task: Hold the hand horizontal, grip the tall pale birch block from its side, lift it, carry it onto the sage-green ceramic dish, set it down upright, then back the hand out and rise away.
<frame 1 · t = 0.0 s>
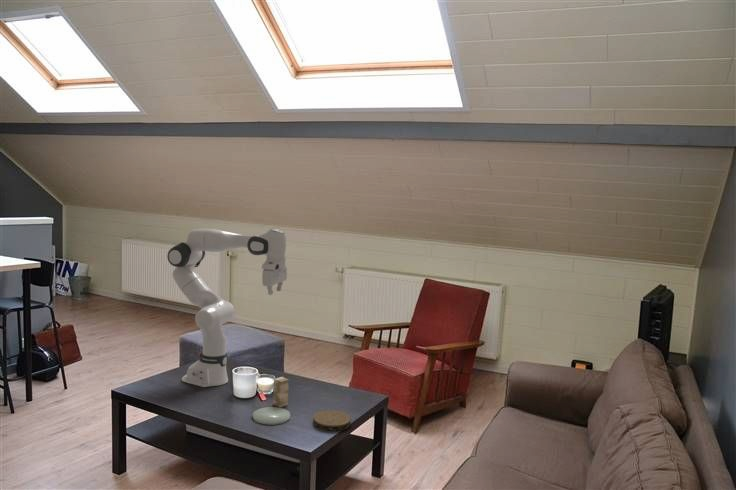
hand: (274, 292, 281), 48 cm above the table, tool pointing down, fingers open, 8 cm apart
birch block: (280, 404, 270), on the table
dish: (271, 417, 256), on the table
brown round disc: (331, 424, 253), on the table
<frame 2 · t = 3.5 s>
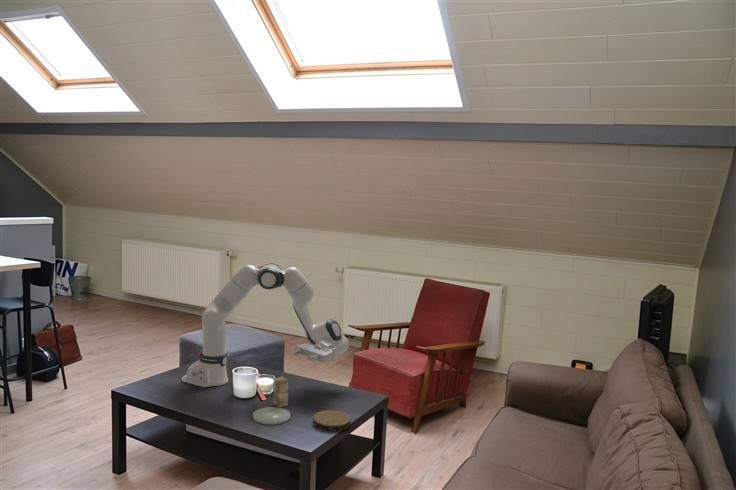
hand: (301, 356, 277), 20 cm above the table, tool horizontal, fingers open, 8 cm apart
nothing on the table moved.
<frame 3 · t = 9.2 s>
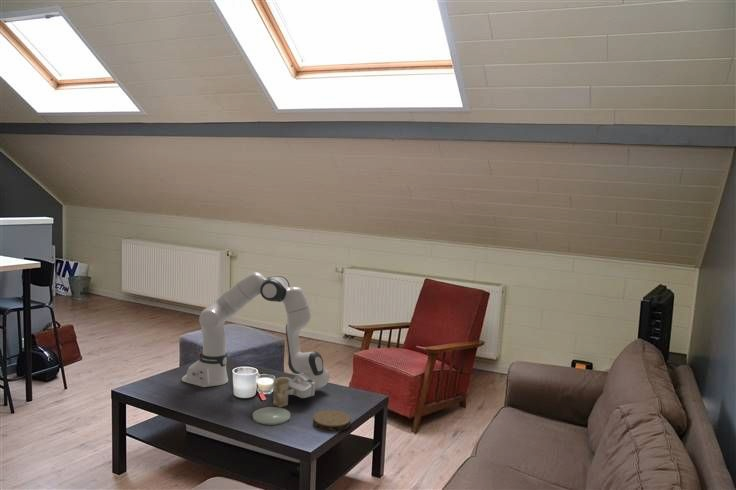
hand: (279, 391, 269), 7 cm above the table, tool horizontal, fingers closed on birch block, 5 cm apart
birch block: (280, 404, 270), on the table, touching gripper
everything else where it was.
when the fingers open (9 cm above the table, at t = 15.6 s): birch block drops 1 cm, resting on dish.
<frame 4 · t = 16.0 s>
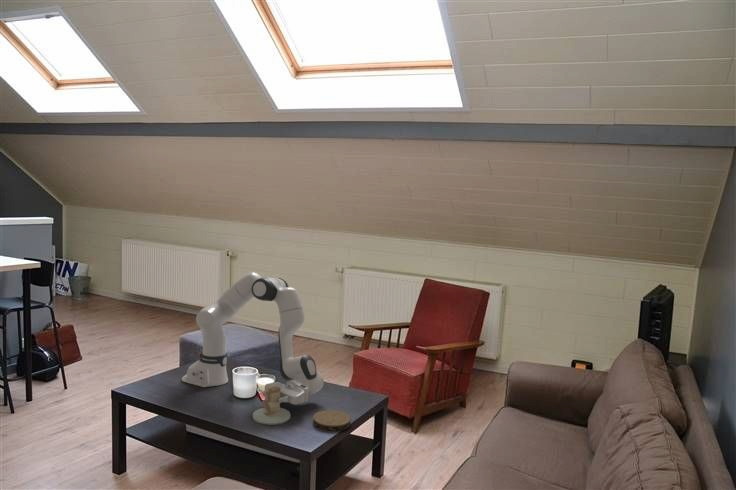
hand: (270, 397, 254), 9 cm above the table, tool horizontal, fingers open, 8 cm apart
birch block: (271, 414, 256), point 1 cm above the table, touching dish
everything else where it was.
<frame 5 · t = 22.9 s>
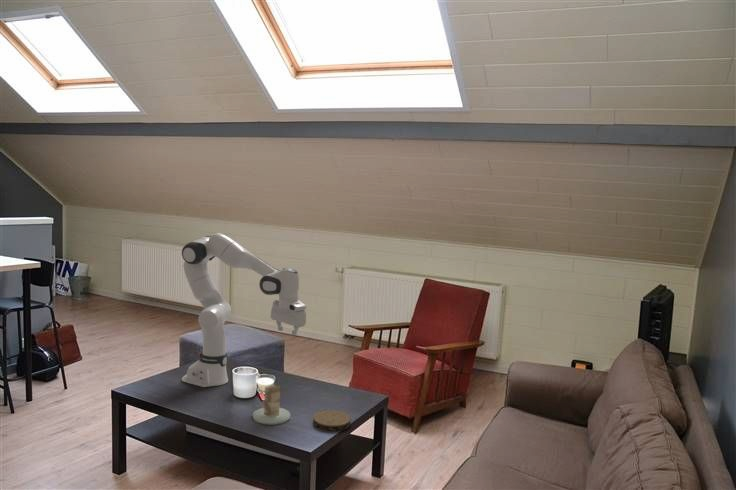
hand: (287, 332, 275), 31 cm above the table, tool pointing down, fingers open, 8 cm apart
nothing on the table moved.
at the end: birch block inside the target area on the dish (0.1 cm from its centre), point 1.2 cm above the dish's base; birch block tilted 0°; the gripper is holding nothing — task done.
